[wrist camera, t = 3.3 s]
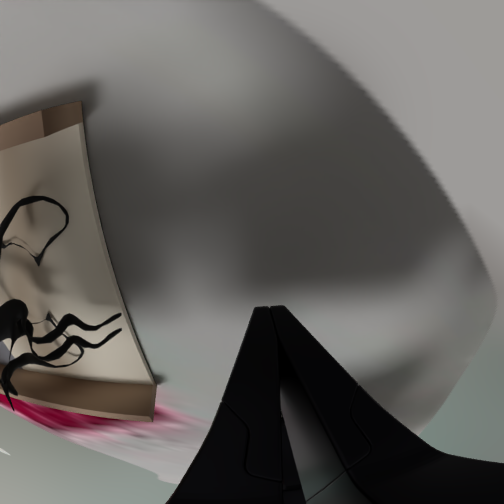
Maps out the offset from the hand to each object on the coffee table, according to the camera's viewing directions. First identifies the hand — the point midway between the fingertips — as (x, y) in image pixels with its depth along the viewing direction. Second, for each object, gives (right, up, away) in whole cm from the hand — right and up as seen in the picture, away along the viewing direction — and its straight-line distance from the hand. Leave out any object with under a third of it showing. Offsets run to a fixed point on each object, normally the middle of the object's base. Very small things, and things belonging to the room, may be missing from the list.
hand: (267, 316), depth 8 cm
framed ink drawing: (-17, 0, 0) cm, 17 cm away
